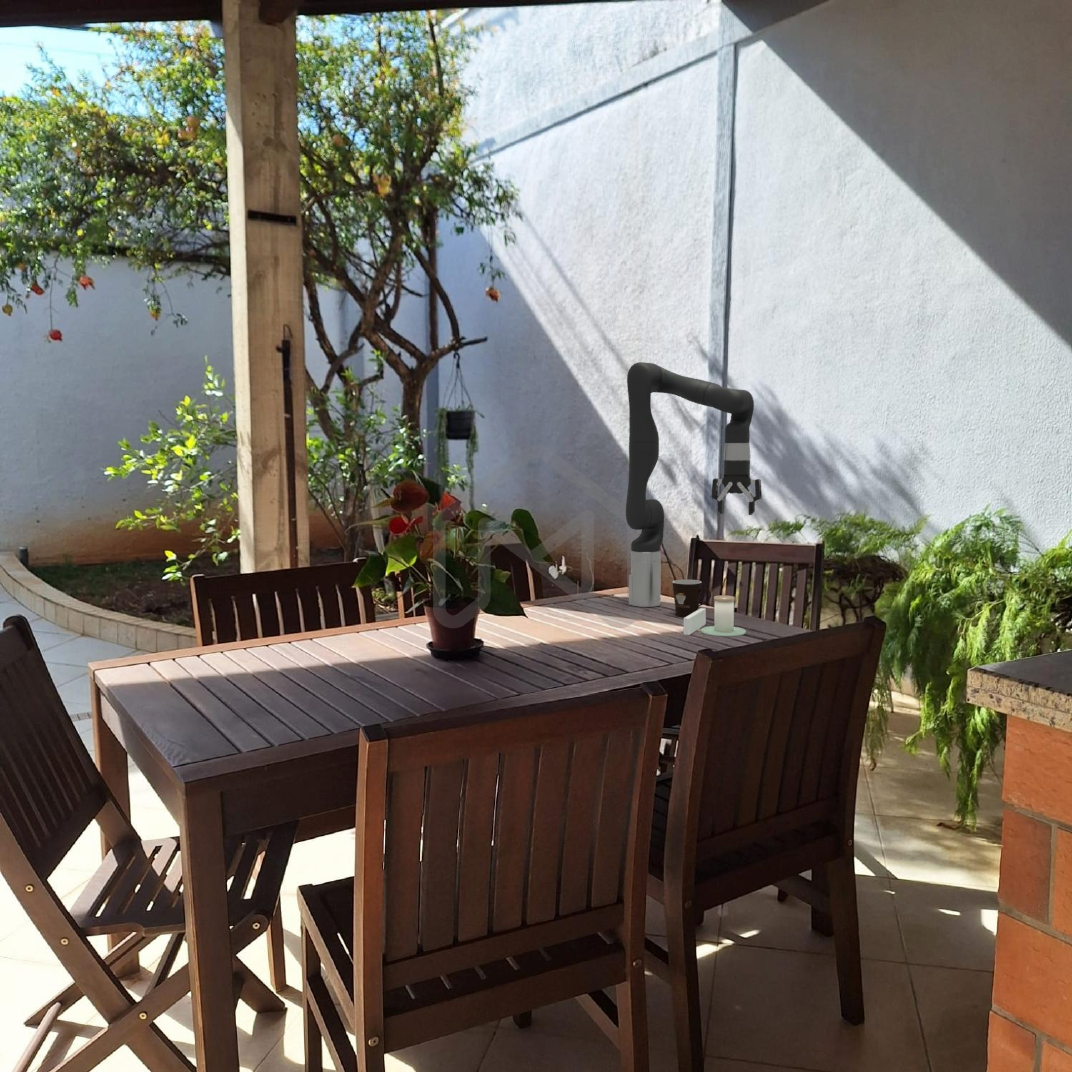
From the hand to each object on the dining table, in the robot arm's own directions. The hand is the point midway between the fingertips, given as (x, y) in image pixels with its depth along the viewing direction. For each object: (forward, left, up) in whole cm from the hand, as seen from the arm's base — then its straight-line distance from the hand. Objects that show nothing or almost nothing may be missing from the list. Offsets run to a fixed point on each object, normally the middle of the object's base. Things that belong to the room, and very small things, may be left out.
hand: (736, 514), depth 282 cm
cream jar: (+3, -24, -30) cm, 38 cm away
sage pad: (+3, -24, -30) cm, 39 cm away
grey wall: (-5, -24, -30) cm, 39 cm away
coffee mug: (-12, -6, -30) cm, 33 cm away
